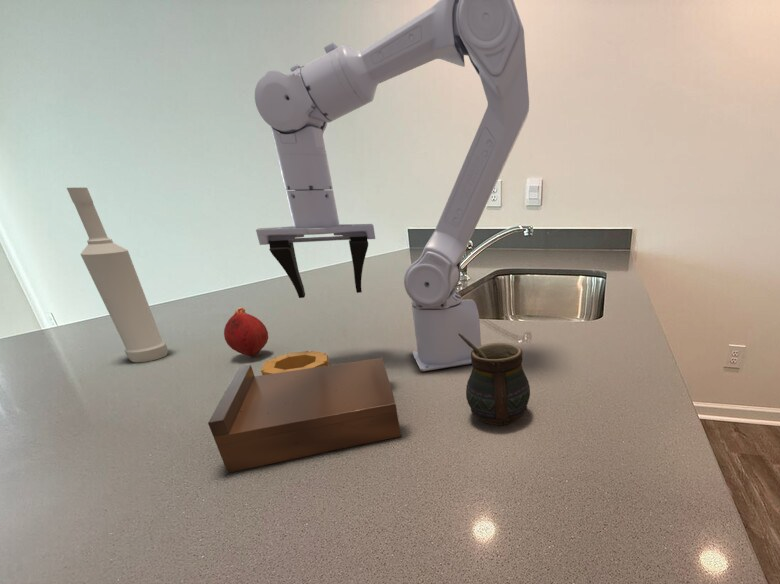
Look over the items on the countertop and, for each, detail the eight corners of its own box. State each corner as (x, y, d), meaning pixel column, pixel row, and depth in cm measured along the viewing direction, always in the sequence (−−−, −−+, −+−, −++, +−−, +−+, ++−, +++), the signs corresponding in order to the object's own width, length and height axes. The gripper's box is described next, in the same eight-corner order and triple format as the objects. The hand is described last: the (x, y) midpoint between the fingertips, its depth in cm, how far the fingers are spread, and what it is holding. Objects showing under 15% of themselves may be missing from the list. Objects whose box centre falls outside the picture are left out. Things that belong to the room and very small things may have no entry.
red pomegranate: (255, 364, 63) (239, 313, 59) (223, 362, 64) (206, 312, 60) (281, 351, 68) (268, 303, 64) (251, 349, 69) (237, 302, 66)
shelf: (387, 384, 55) (380, 346, 53) (400, 436, 43) (393, 390, 41) (253, 407, 50) (239, 366, 48) (227, 473, 38) (207, 422, 36)
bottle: (121, 360, 65) (41, 188, 55) (157, 349, 70) (89, 188, 59) (141, 364, 63) (62, 187, 53) (176, 353, 68) (110, 187, 57)
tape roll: (331, 366, 61) (327, 348, 60) (331, 388, 54) (326, 367, 53) (272, 375, 59) (266, 356, 57) (264, 399, 52) (257, 377, 51)
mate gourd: (536, 428, 44) (537, 341, 40) (467, 436, 43) (460, 347, 39) (524, 398, 51) (523, 320, 46) (463, 404, 50) (456, 325, 45)
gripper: (240, 191, 48) (271, 305, 53) (369, 189, 52) (385, 294, 58) (251, 191, 53) (278, 294, 59) (366, 189, 58) (380, 285, 64)
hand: (331, 293), depth 59 cm, fingers open, 7 cm apart
